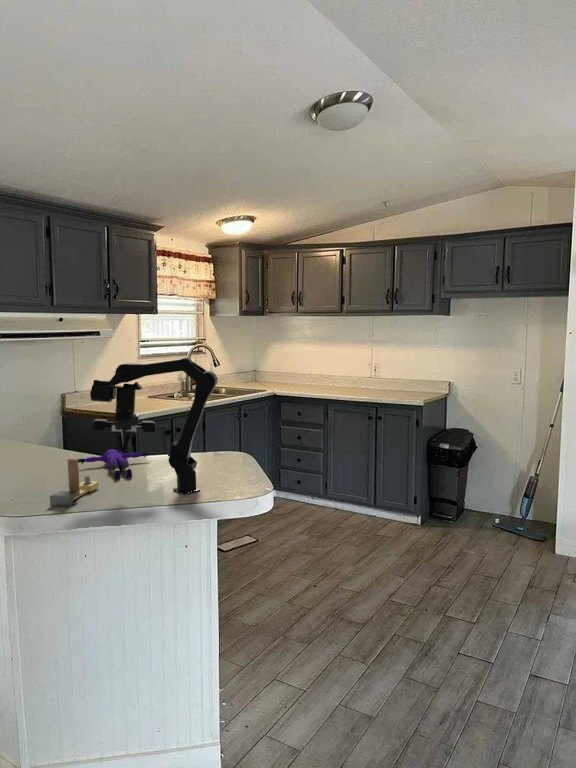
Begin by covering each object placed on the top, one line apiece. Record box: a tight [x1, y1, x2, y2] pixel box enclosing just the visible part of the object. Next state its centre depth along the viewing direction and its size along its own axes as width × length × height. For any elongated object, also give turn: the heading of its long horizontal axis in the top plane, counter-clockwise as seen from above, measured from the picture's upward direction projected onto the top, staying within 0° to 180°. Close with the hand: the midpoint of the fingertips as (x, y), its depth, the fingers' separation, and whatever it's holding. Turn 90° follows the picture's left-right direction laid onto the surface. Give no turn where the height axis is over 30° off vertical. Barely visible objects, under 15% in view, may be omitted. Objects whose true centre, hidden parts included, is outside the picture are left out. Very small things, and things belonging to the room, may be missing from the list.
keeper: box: [49, 490, 80, 508], centre depth 166 cm, size 6×6×3 cm
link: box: [67, 457, 100, 501], centre depth 174 cm, size 16×5×12 cm, turn 172°
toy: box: [78, 448, 150, 481], centre depth 206 cm, size 27×6×30 cm
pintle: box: [83, 475, 95, 493], centre depth 179 cm, size 4×4×5 cm
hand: (122, 452), depth 176 cm, fingers closed
